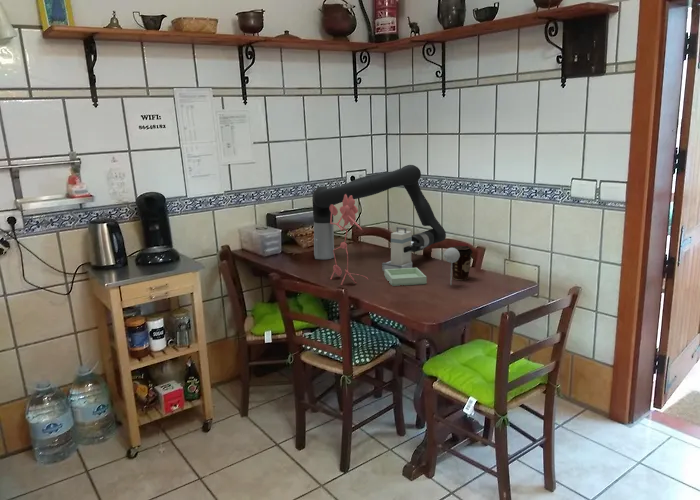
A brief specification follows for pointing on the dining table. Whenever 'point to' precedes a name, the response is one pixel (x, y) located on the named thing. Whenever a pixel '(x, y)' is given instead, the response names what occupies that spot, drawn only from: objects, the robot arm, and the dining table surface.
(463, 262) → the coffee cup
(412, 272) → the tray
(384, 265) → the bay
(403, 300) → the dining table surface
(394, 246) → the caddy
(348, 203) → the figurine
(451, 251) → the lollipop
